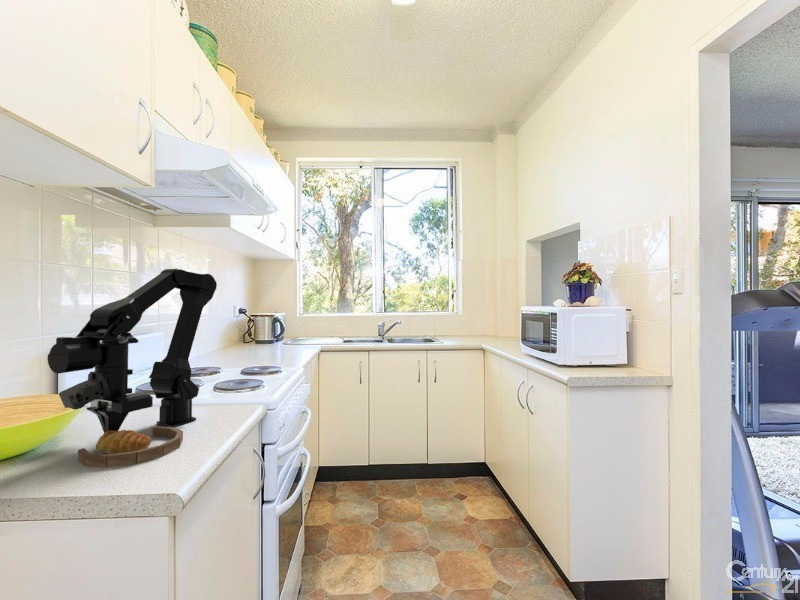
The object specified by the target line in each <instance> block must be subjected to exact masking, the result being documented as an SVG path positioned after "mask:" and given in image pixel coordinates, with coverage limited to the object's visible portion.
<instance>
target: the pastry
mask: <svg viewBox="0 0 800 600" xmlns="http://www.w3.org/2000/svg"><path fill="white" fill-rule="evenodd" d="M152 442H153V441H152V439H151V437H150V436H148V435H147V434H144V433H142V432H137V431H134V430H132V429H131V430H130V429H128V430H126V429H121V430H118V432H117V431H112V430H110V431H107V432H105V433H104V432H103V434H102V435H101V436H99V438H98V440H97V441H96V444H95V450H96V451H97V452H98V453H99V454H116V453H125V452H133V451H138V450H142V449H146V448H150V446H151V443H152Z"/></svg>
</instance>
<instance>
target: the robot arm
mask: <svg viewBox="0 0 800 600" xmlns="http://www.w3.org/2000/svg"><path fill="white" fill-rule="evenodd" d="M217 285H218V284H217V280H215V278H214V276H213V275H212V274H210V273H197V272H192V271H187V270H184V269H181V268H165V269H163V270H161V272H160V273H159V274H157V275H156V276H155V277H154V278H152V279H150V280H149V281H147V282H146V283H145V284H143V285H142V286H140V287H138V289H136V290H134V291H133V292H132V293H130V294H128V295H127V296H126V297H124V298H122V299H118V300H116V301H112V302H109V303H107V304H104V305H101V306H100V307H98V308H95V309H94V310H93V311H92V312H91V313H90V315H89V320H88V322H86V323H85V325H84V326H83V327H82V329H81V330H80V331H79V333H78V334H77V335H76V337H75V336H73V337H72V336H71V337H69V336H61V337H60V336H59V337H56V339H55V340H56V341H55V344H53V346H51V348H50V351H49V353H48V354H47V364H48V366H49V369H50V370H51V371H52V372H53V373H55V374H59V375H60V374H65V373H66V374H67V373H72V372H80V371H86V370H87V371H88V370H92V369H94V370H93V371H89V373H88V375H87V380H84V381H83V382H79V383H77V384H74V385H73V386H71V387H68V388H66V389H64V390H62V391H60V392H58V396H59V398H60V399H61V400H60V401H61V403H62V405H63V407H64V409H68V408H69V409H71V410H74V411H75V410H79V409H82V408H84V407H85V406H86V405H87V404H90V406H89V407H86V410H87V411H89V412H91V413H93V414H94V415H96V416H97V418H98V421H99V424H100V426H101V428H102V431H103V434H104V433H105V432H107V431H110V430H112V431H117V432H118V431H120V428H121V427H122V426H123V425H122V424H124V421H125V420H126V418H127V416H128V415H129V414H130V412H136V411H140V410H143V409H147V408H148V409H149V408H152V407H153V404H154V403H153V402H154V401H153V399H154V397H153V396H152V395H150V393H146V392H145V393H144V392H133V387H128V386H129V385H128V384H129V383H128V382H129V381H128V380H129V379H128V377H129V375H133V374H134V373H133V370H134V369H130V368H129V344H137V343H139V339H137V337H135V336H133V335H132V333H131V331H132V330H133V329H134V328H135V327H136V326H137V324H138V323H140V321H141V319H142V317H143V313H145V312H146V310H147V309H149V308H151V306H153V305H154V304H155V303H157V302H158V301H160V300H161V299H162V298H164V296H166V295H168V294H169V293H170V292H171V291H172V290H174V289H177V290H179V296H180V299H181V302H182V303H181V308H180V311H179V315H178V318H177V320H176V324H175V328H174V330H173V334H172V336H171V339H170V340H171V341H170V342H169V343H170V344H169V347H168V350H167V353H166V356H165V357H164V358H163V359H162V360H161V361H154V363H153V366H152V371H151V373H150V375H149V377H148V378H149V380H150V381H149V386H150V388H151V389H152V390H153V394H154V396H155V398H156V399H161V400H160V406H159V420H158V421H156V425H157V424H158V425H162V426H166V427H177V426H180V425H183V424H186V423H190V422H193V421H197V417H196V416H195V417H194V416H193V399H194V398H196V397H197V398H198V395H199V391H200V388H199V386H197V384H195V382H193V381H192V380H191V378H192V377H191V376H192V368H191V365H190V362H189V361H190V360H189V357H190V354H191V351H192V347H193V343H194V340H195V336H196V333H197V330H198V328H199V323H200V320H201V317H202V316H201V315H202V314H203V313H202V312H203V309H204V307H205V306H206V305H207V304H208V303H209V302H210V301H211V300H212V299H213V297H214V294H215V293H216V290H217Z"/></svg>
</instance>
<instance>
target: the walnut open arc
mask: <svg viewBox="0 0 800 600" xmlns="http://www.w3.org/2000/svg"><path fill="white" fill-rule="evenodd" d="M151 433H152V437H155V438H170V439H169V440H167V441H164V442H163V443H161V444H159V445H154V446H151V447H150V446H149V447H147V448H145V449H142V450H138V451H133V452H125V453H116V454H108V453H103V454H101V453H96V452H95V453H94V452H90V451H89V450H88V449H86V448H85V447H83V448H78V449H77V461H78V462H79V463H80V464H81V465H83V466H84V467H92V468H93V467H94V468H114V467H119V466H127V465H133V464H134V465H136V464H139V463H143V462H148V461H151V460H153V459H157V458H161V457H164V456H166V455H168V454H170V453H172V452H174V451H176V450H177V449H179V448H180V447H181V445H182V443H183V442H184V441H183V440H184V431H183V430H181V429H179V428H177V427H176V426H156V425H155V426H153V427H152V430H151Z"/></svg>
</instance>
